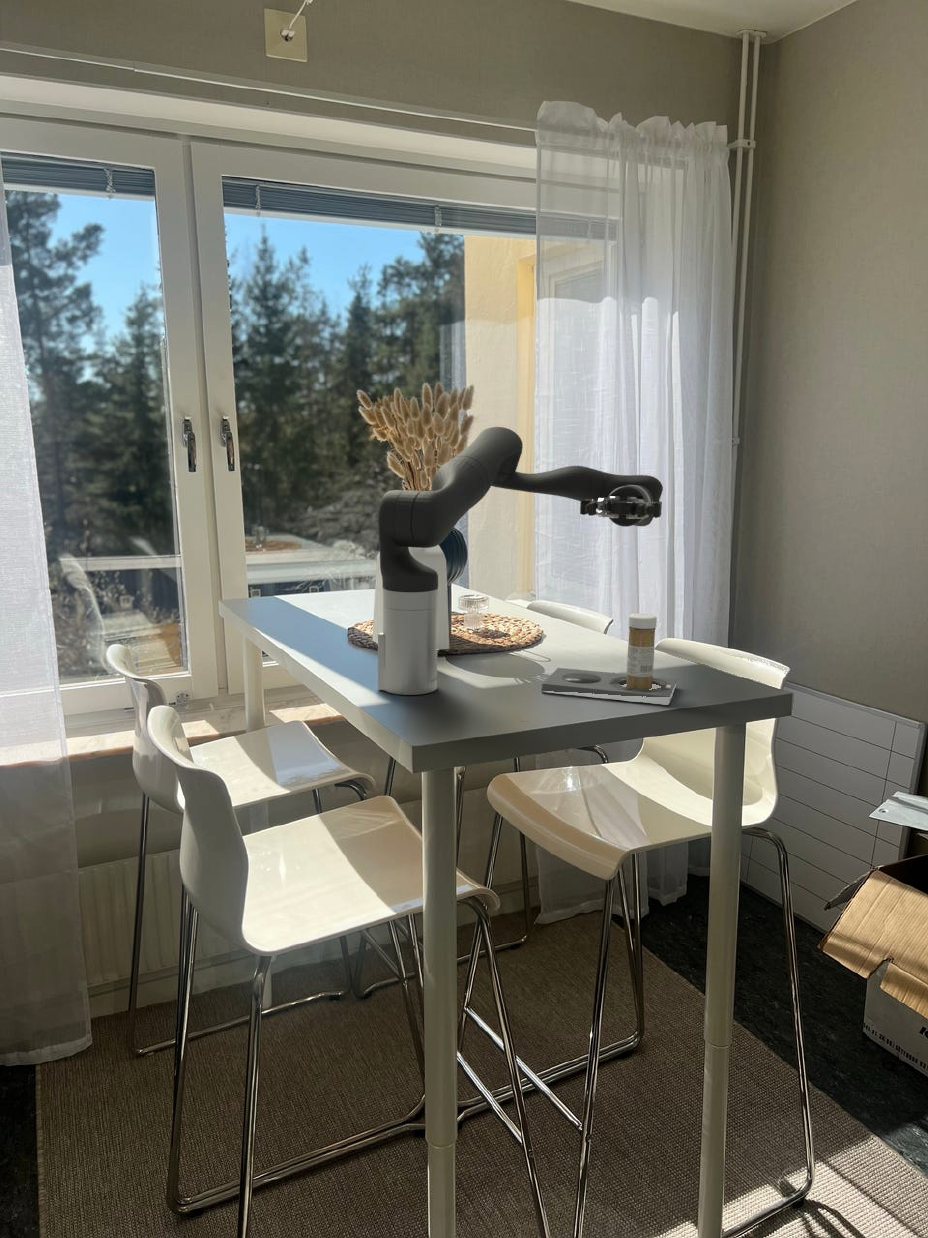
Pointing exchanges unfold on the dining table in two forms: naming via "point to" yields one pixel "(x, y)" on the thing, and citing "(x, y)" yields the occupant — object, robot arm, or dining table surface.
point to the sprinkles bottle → (641, 651)
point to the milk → (437, 562)
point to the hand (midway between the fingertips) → (614, 510)
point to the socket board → (602, 683)
